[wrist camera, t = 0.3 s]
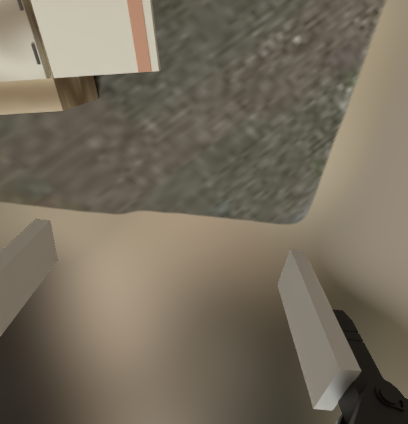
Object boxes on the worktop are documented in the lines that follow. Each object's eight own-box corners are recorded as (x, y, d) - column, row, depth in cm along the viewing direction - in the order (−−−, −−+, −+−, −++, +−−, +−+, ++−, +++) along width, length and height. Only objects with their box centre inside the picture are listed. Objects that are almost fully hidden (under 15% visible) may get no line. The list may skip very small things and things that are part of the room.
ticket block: (-40, -83, 28) (-170, -156, 18) (54, -92, 27) (-31, -173, 18) (27, 103, 37) (-38, 118, 27) (98, 98, 36) (58, 112, 27)
